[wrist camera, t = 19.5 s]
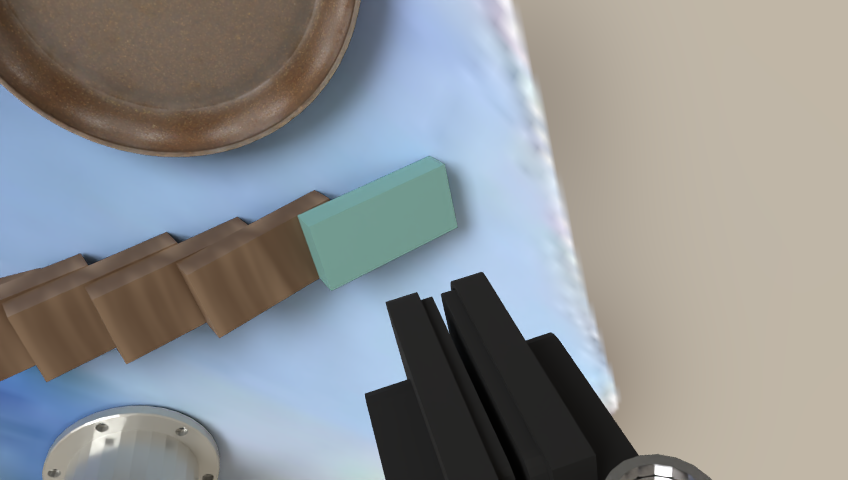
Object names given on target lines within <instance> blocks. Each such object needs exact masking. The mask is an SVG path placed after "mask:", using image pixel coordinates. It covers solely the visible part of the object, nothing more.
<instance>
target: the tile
mask: <svg viewBox="0 0 848 480" xmlns="http://www.w3.org/2000/svg"><path fill="white" fill-rule="evenodd" d="M297 216H298V219H299V222H300V224H301V227H302V230H303V233H304V236H305V238H306V241H307V244H308V247H309V250H310V252H311V255H312V258H313V261H314V264H315V266H316V269H317V272H318V275H319V278H320V279H321V280H322V281H323V282H324V283H325V285H326V286H327V287H328V288H329V289H330V290H331V291H332V290H334V289H336V288H338V287H340V286H342V285H344V284H346V283H348V282H350V281H352V280H354V279H356V278H358V277H360V276H362V275H364V274H366V273H368V272H370V271H372V270H374V269H376V268H378V267H380V266H382V265H384V264H386V263H388V262H390V261H392V260H394V259H396V258H398V257H400V256H402V255H404V254H406V253H407V252H409V251H411V250H413V249H415V248H417V247H419V246H421V245H423V244H425V243H427V242H429V241H431V240H433V239H435V238H437V237H439V236H441V235H443V234H445V233H447V232H449V231H451V230H453V229H455V228H457V222H456V217H455V212H454V207H453V203H452V198H451V193H450V188H449V183H448V178H447V173H446V168H445V164H443V163H441V162H440V161H438V160H436V159H434V158H432V157H430V156H428V157H426V158H423V159H421V160H419V161H417V162H415V163H412V164H410V165H408V166H406V167H404V168H401V169H399V170H397V171H395V172H392V173H390V174H388V175H386V176H384V177H381V178H379V179H377V180H375V181H373V182H370V183H368V184H366V185H364V186H361V187H359V188H357V189H355V190H353V191H350V192H348V193H346V194H344V195H342V196H339V197H337V198H335V199H333V200H330V201H328V202H326V203H324V204H322V205H319V206H317V207H315V208H313V209H311V210H308V211H306V212H304V213H302V214H299V215H297Z"/></svg>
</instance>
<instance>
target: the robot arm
mask: <svg viewBox="0 0 848 480" xmlns="http://www.w3.org/2000/svg"><path fill="white" fill-rule="evenodd" d="M441 298H442V303H443V307H444V311H445V316H446V320H447V325H448V329H449V332H448V330H447V328H446V325H445V323H444V321H443V319H442V317H441V315H440V312H439V310H438V308H437V306H436V304H435V302H434V300H433V298H432V297H429V298H426V299H423V300H420V297H419V295H418V293H417V292H416V293H413V294H410V295H406V296H403V297H400V298H397V299H394V300H391V301H387V302H386V306H387V310H388V313H389V317H390V320H391V324H392V327H393V331H394V334H395V338H396V341H397V345H398V348H399V352H400V355H401V359H402V362H403V366H404V369H405V373H406V376H407V380H405V381H402V382H399V383H396V384H393V385H390V386H387V387H384V388H381V389H378V390H375V391H372V392H369V393H365V398H366V403H367V407H368V411H369V415H370V419H371V423H372V427H373V431H374V435H375V439H376V443H377V447H378V451H379V455H380V459H381V463H382V467H383V471H384V475H385V479H386V480H712V479H711V478H710V477H708V476H707V475H706V474H704V473H703V472H702V471H701V470H699V469H698V468H697V467H695V466H694V465H692V464H690V463H687V462H685V461H683V460H681V459H678V458H676V457H670V456H664V455H659V454H654V455H640V456H639V455H638V454H637V452H636V451H635V449H634V448H633V446H632V445H631V443H630V442H629V441H628V439H627V438H626V436H625V435H624V433H623V432H622V430H621V429H620V428H619V426H618V425H617V423H616V422H615V420H614V419H613V417H612V416H611V414H610V413H609V412H608V410H607V409H606V407H605V406H604V404H603V403H602V401H601V400H600V398H599V397H598V396H597V394H596V393H595V391H594V390H593V388H592V387H591V385H590V384H589V383H588V381H587V380H586V378H585V377H584V375H583V374H582V372H581V371H580V369H579V368H578V367H577V365H576V364H575V362H574V361H573V359H572V358H571V356H570V355H569V353H568V352H567V351H566V349H565V348H564V346H563V345H562V343H561V342H560V340H559V339H558V338H557V337H556V336H555V335H554V334H553V333H551V332H550V333H547V334H544V335H541V336H538V337H535V338H532V339H529V340H526V341H525V339H524V337H523V336H522V334H521V333H520V331H519V329H518V328H517V326H516V324H515V323H514V321H513V320H512V318H511V316H510V315H509V313H508V311H507V310H506V308H505V307H504V305H503V303H502V302H501V300H500V298H499V297H498V295H497V294H496V292H495V290H494V289H493V287H492V286H491V284H490V282H489V281H488V279H487V277H486V276H485V275H484V273H483V272H480V273H476V274H473V275H470V276H467V277H464V278H460V279H457V280H454V281H451V291H448V292H445V293H442V294H441ZM219 469H220V456H219V451H218V447H217V444H216V443H215V441H214V439H213V437H212V435H211V434H210V433H209V432H208V431H207V430H206V429H205V428H204V427H203V426H202V425H201V424H199V423H198V422H196V421H195V420H194V419H192V418H190V417H188V416H186V415H183V414H181V413H179V412H176V411H172V410H169V409H165V408H160V407H152V406H124V407H117V408H111V409H107V410H104V411H100V412H96V413H94V414H91V415H89V416H87V417H85V418H82V419H80V420H79V421H77V422H76V423H74V424H72V425H71V426H69V427H68V428H67V429H66V430H64V431H63V432H62V433H61V434H60V435H59V436H58V437H57V438H56V440H55V441H54V443H53V444H52V446H51V447H50V449H49V452H48V454H47V457H46V460H45V463H44V467H43V472H42V477H43V480H218V475H219Z"/></svg>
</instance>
